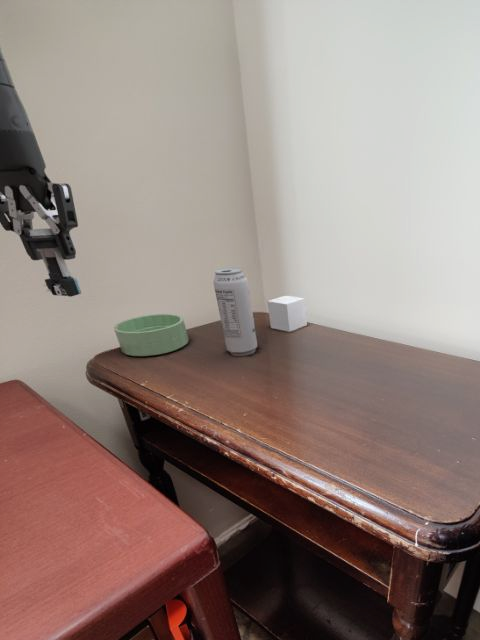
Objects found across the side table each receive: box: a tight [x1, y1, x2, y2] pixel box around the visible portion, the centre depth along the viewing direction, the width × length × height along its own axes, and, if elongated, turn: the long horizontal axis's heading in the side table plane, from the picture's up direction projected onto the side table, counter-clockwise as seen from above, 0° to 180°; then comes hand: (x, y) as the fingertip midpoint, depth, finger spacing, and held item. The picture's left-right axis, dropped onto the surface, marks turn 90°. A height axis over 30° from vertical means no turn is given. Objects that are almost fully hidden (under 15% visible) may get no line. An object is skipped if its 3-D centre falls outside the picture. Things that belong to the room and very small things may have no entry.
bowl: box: [113, 313, 190, 357], centre depth 82 cm, size 13×13×5 cm
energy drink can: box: [212, 267, 258, 357], centre depth 74 cm, size 6×6×15 cm
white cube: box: [267, 295, 308, 333], centre depth 90 cm, size 6×6×6 cm
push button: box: [25, 227, 82, 298], centre depth 66 cm, size 7×5×10 cm
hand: (53, 258), depth 66 cm, fingers closed on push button, 5 cm apart
